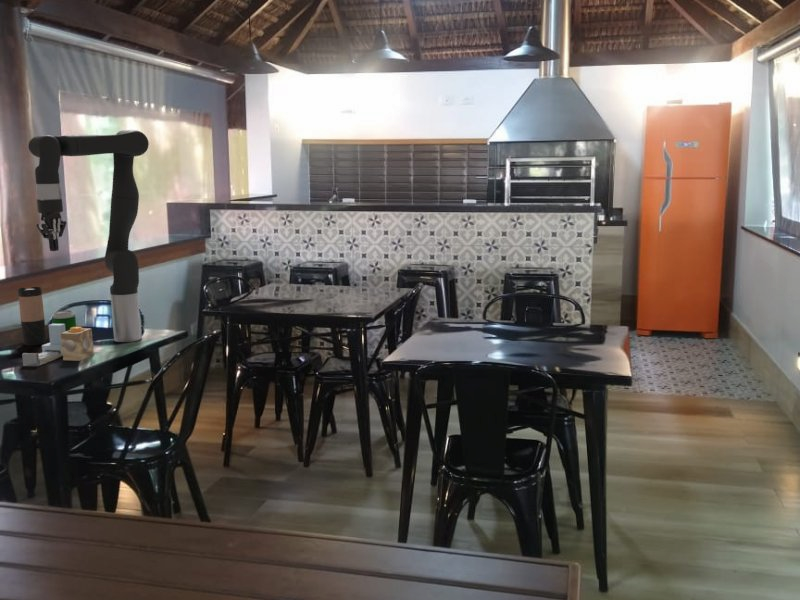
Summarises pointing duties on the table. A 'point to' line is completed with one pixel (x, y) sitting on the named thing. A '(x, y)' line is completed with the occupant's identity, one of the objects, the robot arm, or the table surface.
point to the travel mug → (32, 316)
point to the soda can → (64, 318)
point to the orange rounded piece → (76, 329)
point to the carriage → (55, 338)
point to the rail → (40, 357)
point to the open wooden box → (77, 344)
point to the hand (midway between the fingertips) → (54, 250)
